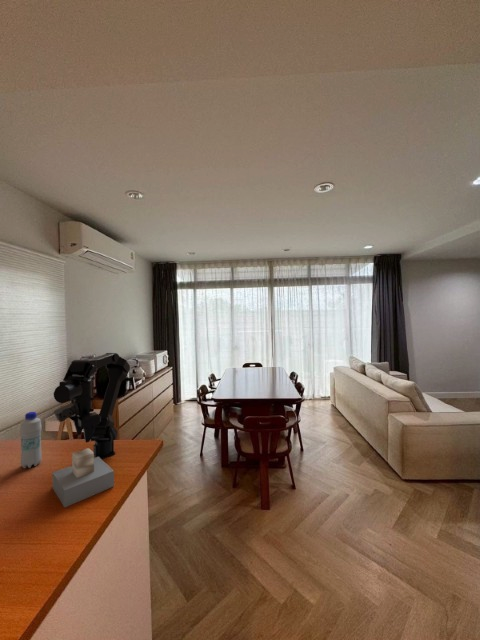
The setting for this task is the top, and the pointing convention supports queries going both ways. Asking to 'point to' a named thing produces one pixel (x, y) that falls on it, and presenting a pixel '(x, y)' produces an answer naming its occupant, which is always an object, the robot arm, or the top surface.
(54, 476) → the plinth
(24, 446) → the bottle
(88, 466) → the cream block
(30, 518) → the top surface
